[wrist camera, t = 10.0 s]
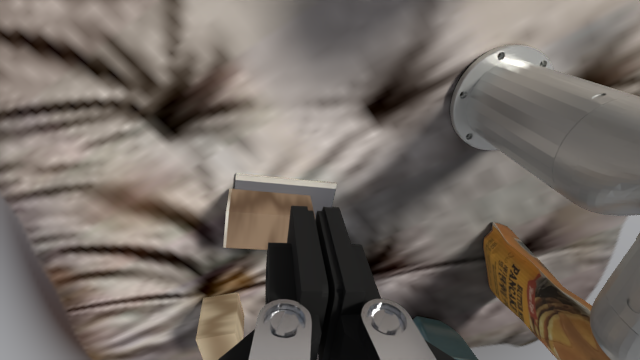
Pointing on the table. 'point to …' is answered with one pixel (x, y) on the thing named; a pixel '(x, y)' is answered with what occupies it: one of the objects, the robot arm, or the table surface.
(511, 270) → the pancake mix bag
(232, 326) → the oak block
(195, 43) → the table surface
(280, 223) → the walnut block
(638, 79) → the table surface
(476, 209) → the table surface
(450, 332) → the flower pot
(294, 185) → the grey rectangular panel
